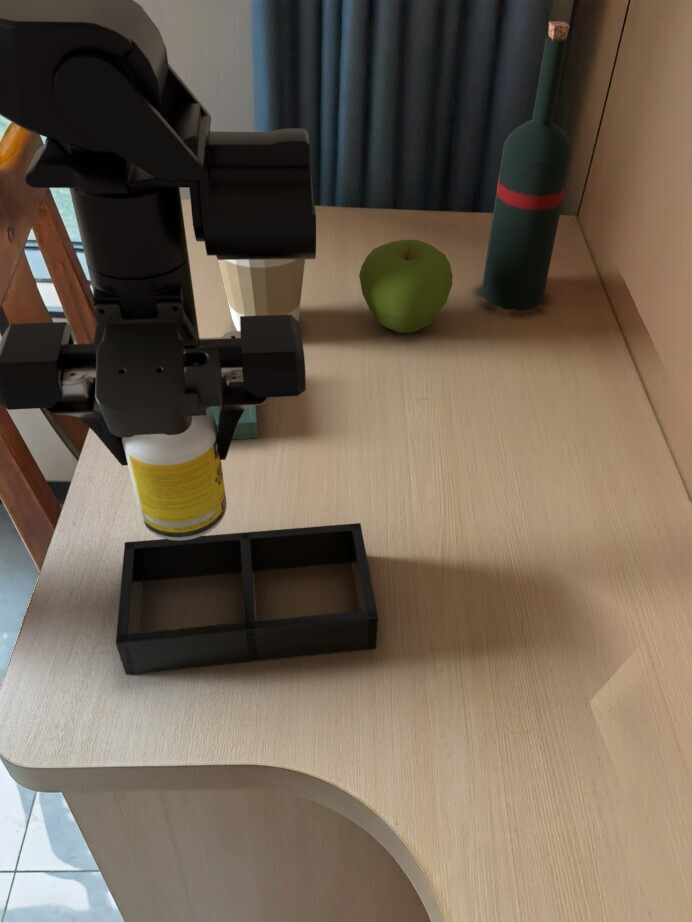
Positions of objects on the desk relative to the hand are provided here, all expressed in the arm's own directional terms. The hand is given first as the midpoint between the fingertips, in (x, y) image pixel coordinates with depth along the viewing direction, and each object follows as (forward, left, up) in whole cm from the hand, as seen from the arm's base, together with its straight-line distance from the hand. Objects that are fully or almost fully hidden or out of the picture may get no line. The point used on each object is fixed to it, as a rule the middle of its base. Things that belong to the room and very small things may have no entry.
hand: (174, 458), depth 57 cm
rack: (+4, -4, -13) cm, 14 cm away
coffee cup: (+8, +37, -13) cm, 40 cm away
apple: (+24, +36, -13) cm, 45 cm away
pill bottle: (0, 0, -6) cm, 6 cm away
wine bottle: (+39, +43, -13) cm, 60 cm away
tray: (+1, +22, -13) cm, 26 cm away
